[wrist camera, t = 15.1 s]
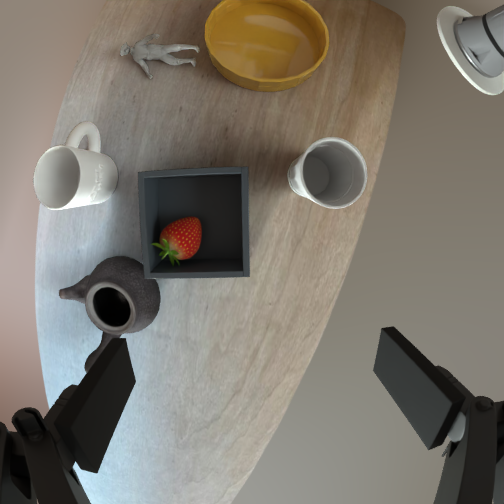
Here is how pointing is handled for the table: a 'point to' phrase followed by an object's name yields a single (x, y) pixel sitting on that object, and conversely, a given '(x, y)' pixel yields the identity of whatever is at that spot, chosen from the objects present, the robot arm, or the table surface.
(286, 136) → the table surface
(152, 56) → the soldier figure
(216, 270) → the bin
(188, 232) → the fruit
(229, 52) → the bowl
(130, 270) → the teapot
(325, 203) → the cup
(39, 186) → the mug
